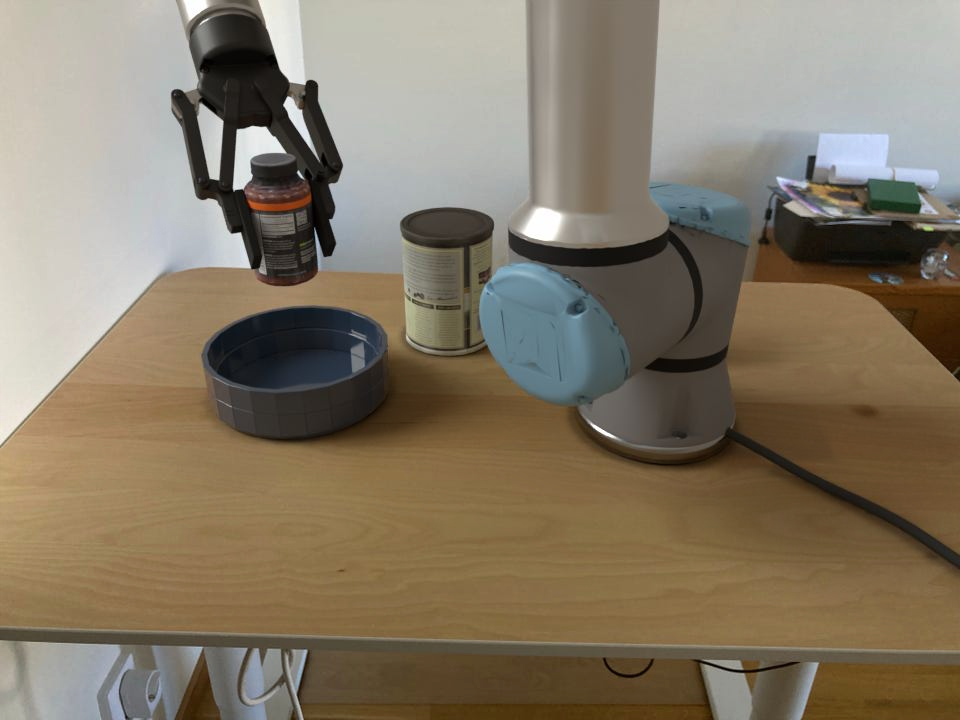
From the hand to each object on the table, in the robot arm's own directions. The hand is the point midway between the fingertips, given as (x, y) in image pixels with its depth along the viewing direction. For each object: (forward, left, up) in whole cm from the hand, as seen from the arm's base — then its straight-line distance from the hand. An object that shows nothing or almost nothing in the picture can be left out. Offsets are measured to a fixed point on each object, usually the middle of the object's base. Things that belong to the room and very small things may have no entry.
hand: (294, 256), depth 69 cm
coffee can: (-1, -21, -17) cm, 27 cm away
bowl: (+3, -2, -16) cm, 17 cm away
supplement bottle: (+3, -2, -4) cm, 5 cm away
